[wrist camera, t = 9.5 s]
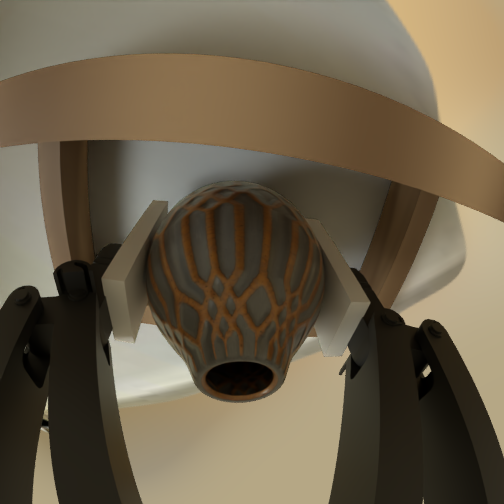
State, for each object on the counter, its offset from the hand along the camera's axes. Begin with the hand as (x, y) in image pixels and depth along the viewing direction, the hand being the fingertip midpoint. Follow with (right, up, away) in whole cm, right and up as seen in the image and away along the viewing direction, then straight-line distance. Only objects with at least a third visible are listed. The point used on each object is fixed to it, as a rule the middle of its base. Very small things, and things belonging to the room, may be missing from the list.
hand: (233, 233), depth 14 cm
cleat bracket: (0, +1, +2) cm, 2 cm away
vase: (0, 0, 0) cm, 0 cm away
